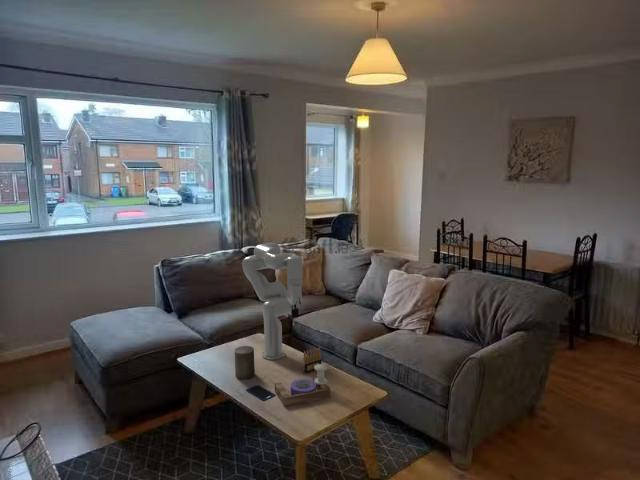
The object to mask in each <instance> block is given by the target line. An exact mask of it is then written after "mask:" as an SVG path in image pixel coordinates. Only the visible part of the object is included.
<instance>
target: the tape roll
mask: <svg viewBox="0 0 640 480" xmlns="http://www.w3.org/2000/svg"><path fill="white" fill-rule="evenodd" d="M316 390H317V389H316V383H315V382H314V381H313V379H312V380H311V379H310V378H309V379H308V378H297V379H295V380H293V381H291V383H290V396H292V395H296V394H301V393H306V392H311V391H316Z"/></svg>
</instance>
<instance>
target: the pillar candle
mask: <svg viewBox="0 0 640 480" xmlns="http://www.w3.org/2000/svg"><path fill="white" fill-rule="evenodd" d="M233 351H234V370H235V372H234V373H235V374H234V375H235V378H237V379H238V380H250V379H252V378H254V377H255V375H256V373H255V371H256V370H255V349H254V347H253V346H251V345H250V346H249V345H241V346H238V347H235V349H234V350H233Z"/></svg>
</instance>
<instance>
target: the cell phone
mask: <svg viewBox="0 0 640 480" xmlns="http://www.w3.org/2000/svg"><path fill="white" fill-rule="evenodd" d="M245 391H246V392H247V393H249V394H251V396H254V397H255V398H257V399H259V400H260V401H262V402H265V401H267V400H269V399H272V398H275V397H276V393H275V392H274V393H273V392H271V391H270V390H268V389H267V388H264V387H263V386H262V385H259V384H256V385H253V386H251V387H248V388H246V389H245Z"/></svg>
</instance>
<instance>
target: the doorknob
mask: <svg viewBox="0 0 640 480" xmlns="http://www.w3.org/2000/svg"><path fill="white" fill-rule="evenodd" d="M314 369H315V370H316V371H317V372H316V373H317V374H316V376H317V378H316V379H315V380H314V382H315V383H316V384H317V385H325V384H326V385H328V384H327V383H328V379H327V378H325V371H327V370H328V365H327V364H324V363H321V364H317V365H315V367H314Z"/></svg>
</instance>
